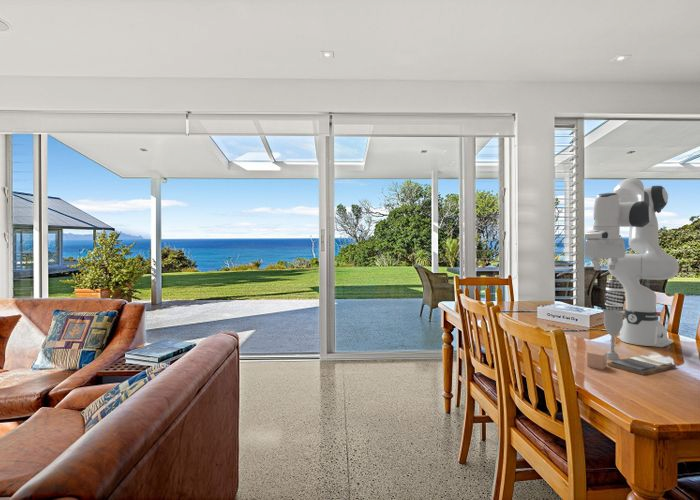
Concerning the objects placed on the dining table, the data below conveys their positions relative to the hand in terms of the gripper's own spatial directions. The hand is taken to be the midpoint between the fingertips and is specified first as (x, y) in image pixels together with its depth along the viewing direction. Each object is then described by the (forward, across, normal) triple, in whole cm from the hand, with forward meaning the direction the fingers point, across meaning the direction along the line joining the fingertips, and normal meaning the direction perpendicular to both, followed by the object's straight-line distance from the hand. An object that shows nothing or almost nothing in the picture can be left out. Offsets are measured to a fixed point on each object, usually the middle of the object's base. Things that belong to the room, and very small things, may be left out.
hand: (605, 270), depth 166 cm
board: (+33, +2, +16) cm, 37 cm away
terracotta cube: (+34, +17, +8) cm, 38 cm away
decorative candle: (+33, -56, -30) cm, 71 cm away
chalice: (+34, +1, +4) cm, 34 cm away
